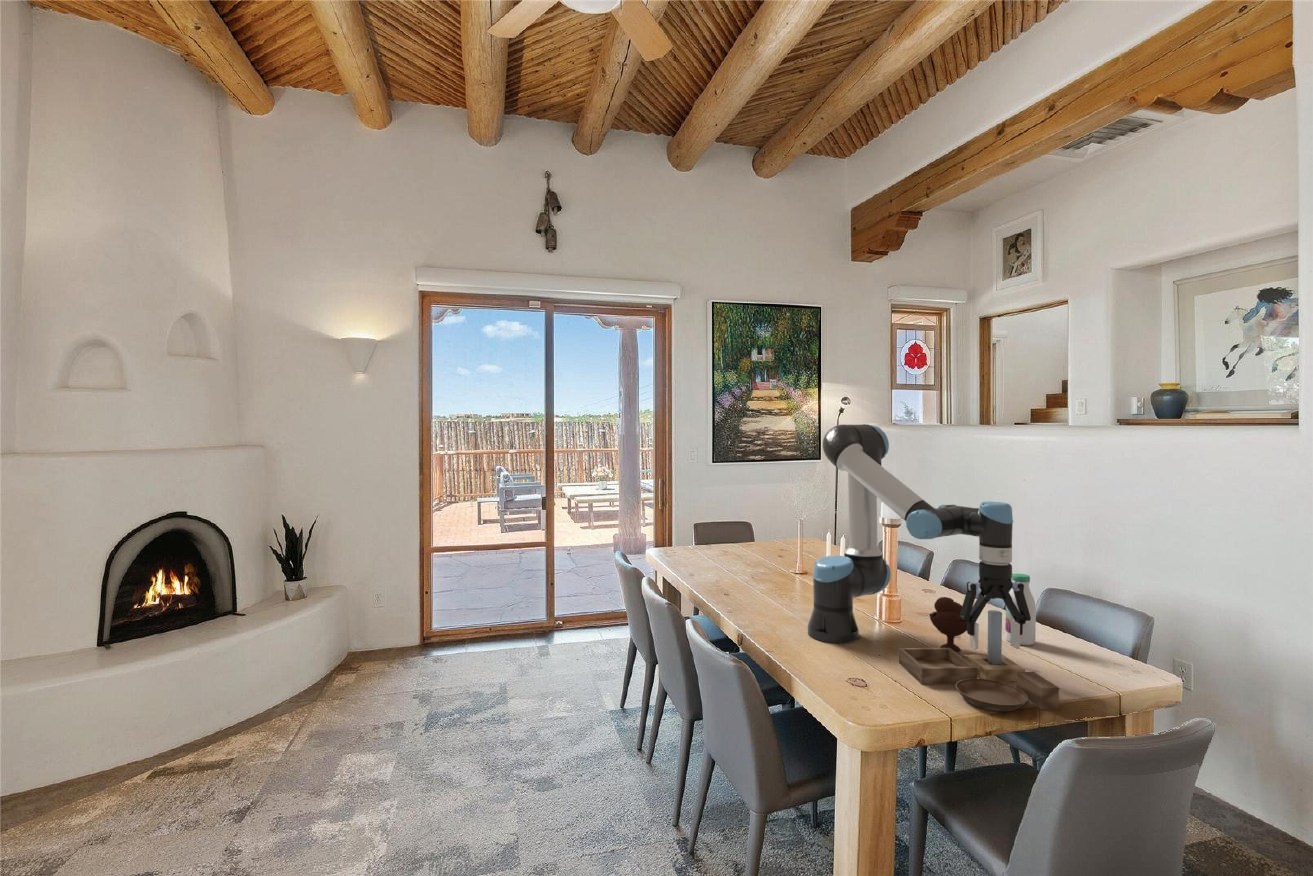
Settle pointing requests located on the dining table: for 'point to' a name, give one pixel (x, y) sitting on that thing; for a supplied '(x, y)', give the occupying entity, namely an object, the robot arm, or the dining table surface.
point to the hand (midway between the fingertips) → (994, 647)
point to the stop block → (1038, 690)
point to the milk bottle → (1029, 626)
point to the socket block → (995, 668)
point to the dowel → (994, 637)
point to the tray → (936, 665)
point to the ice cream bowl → (948, 621)
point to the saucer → (991, 694)
